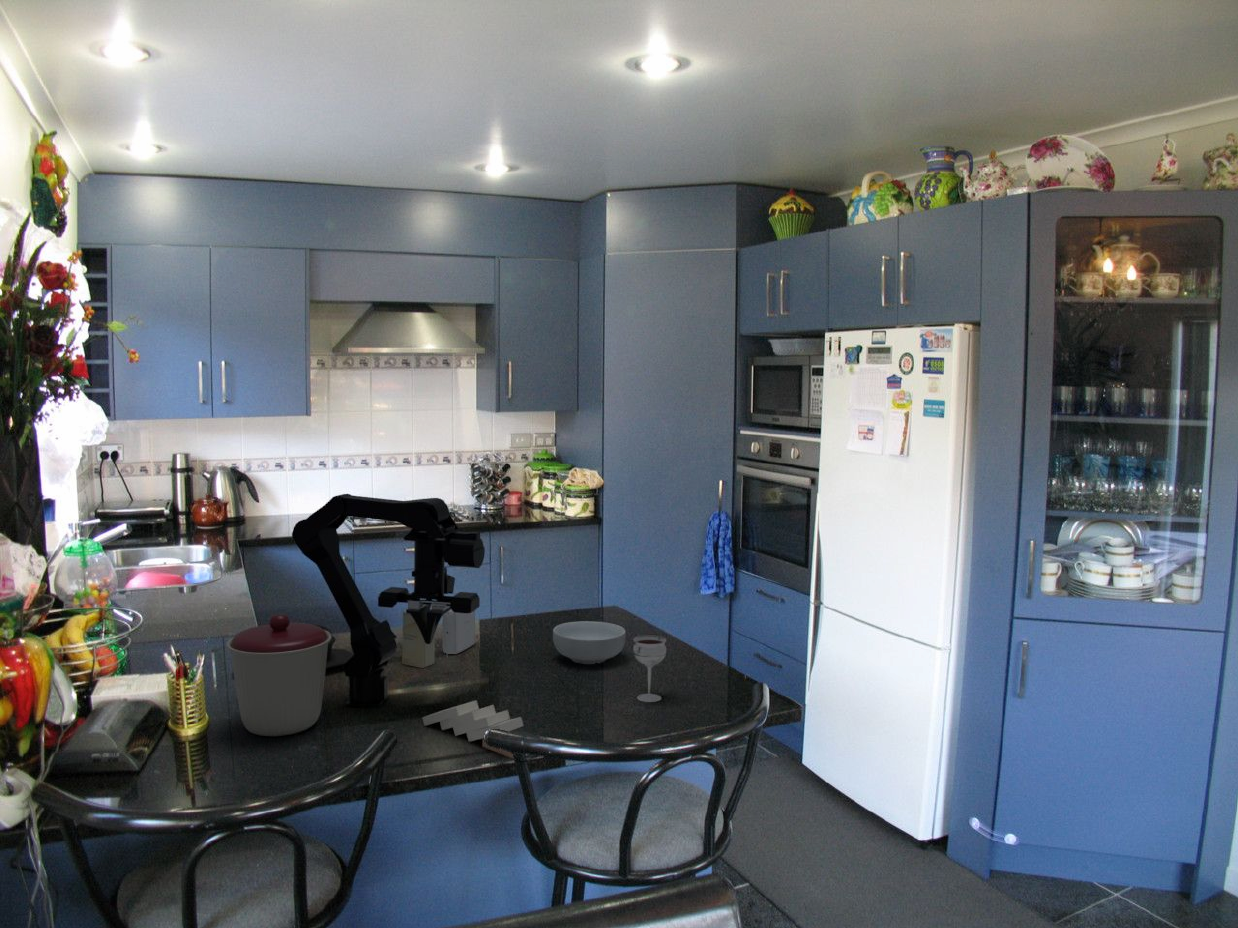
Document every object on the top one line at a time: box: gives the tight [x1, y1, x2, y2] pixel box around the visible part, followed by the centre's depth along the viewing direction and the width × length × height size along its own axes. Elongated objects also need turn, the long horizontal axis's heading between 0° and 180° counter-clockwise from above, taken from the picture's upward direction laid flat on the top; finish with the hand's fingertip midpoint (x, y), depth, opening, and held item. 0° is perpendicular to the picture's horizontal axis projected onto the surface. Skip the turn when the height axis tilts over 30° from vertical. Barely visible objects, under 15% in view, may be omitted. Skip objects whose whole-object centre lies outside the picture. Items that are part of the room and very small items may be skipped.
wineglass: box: [632, 634, 668, 703], centre depth 193 cm, size 7×7×12 cm
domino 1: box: [422, 699, 480, 727], centre depth 175 cm, size 2×5×10 cm
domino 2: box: [439, 704, 497, 731], centre depth 173 cm, size 2×5×10 cm
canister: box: [225, 613, 333, 737], centre depth 174 cm, size 18×18×21 cm
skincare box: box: [401, 609, 436, 669], centre depth 213 cm, size 6×4×12 cm
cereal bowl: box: [552, 620, 627, 665], centre depth 219 cm, size 17×17×7 cm
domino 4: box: [466, 716, 524, 742], centre depth 167 cm, size 2×5×10 cm
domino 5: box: [482, 739, 532, 760], centre depth 165 cm, size 2×5×10 cm
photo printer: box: [442, 610, 476, 655], centre depth 225 cm, size 10×4×12 cm, turn 160°
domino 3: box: [452, 709, 511, 737], centre depth 170 cm, size 2×5×10 cm
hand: (428, 643), depth 185 cm, fingers closed
